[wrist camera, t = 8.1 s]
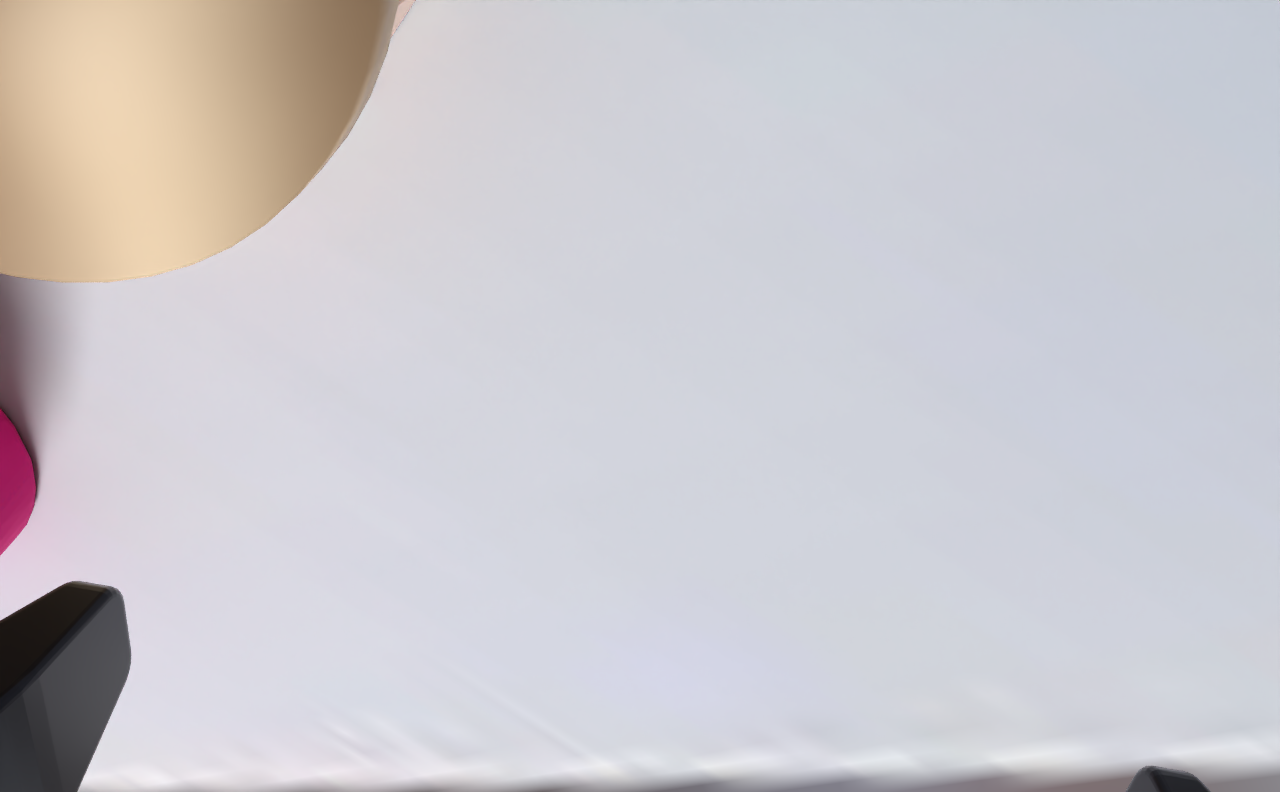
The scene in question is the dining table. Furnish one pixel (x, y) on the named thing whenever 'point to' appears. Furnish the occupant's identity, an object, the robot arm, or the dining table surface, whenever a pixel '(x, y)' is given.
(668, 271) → the dining table surface
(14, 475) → the pepper mill
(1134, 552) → the dining table surface
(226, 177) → the lid
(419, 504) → the dining table surface
